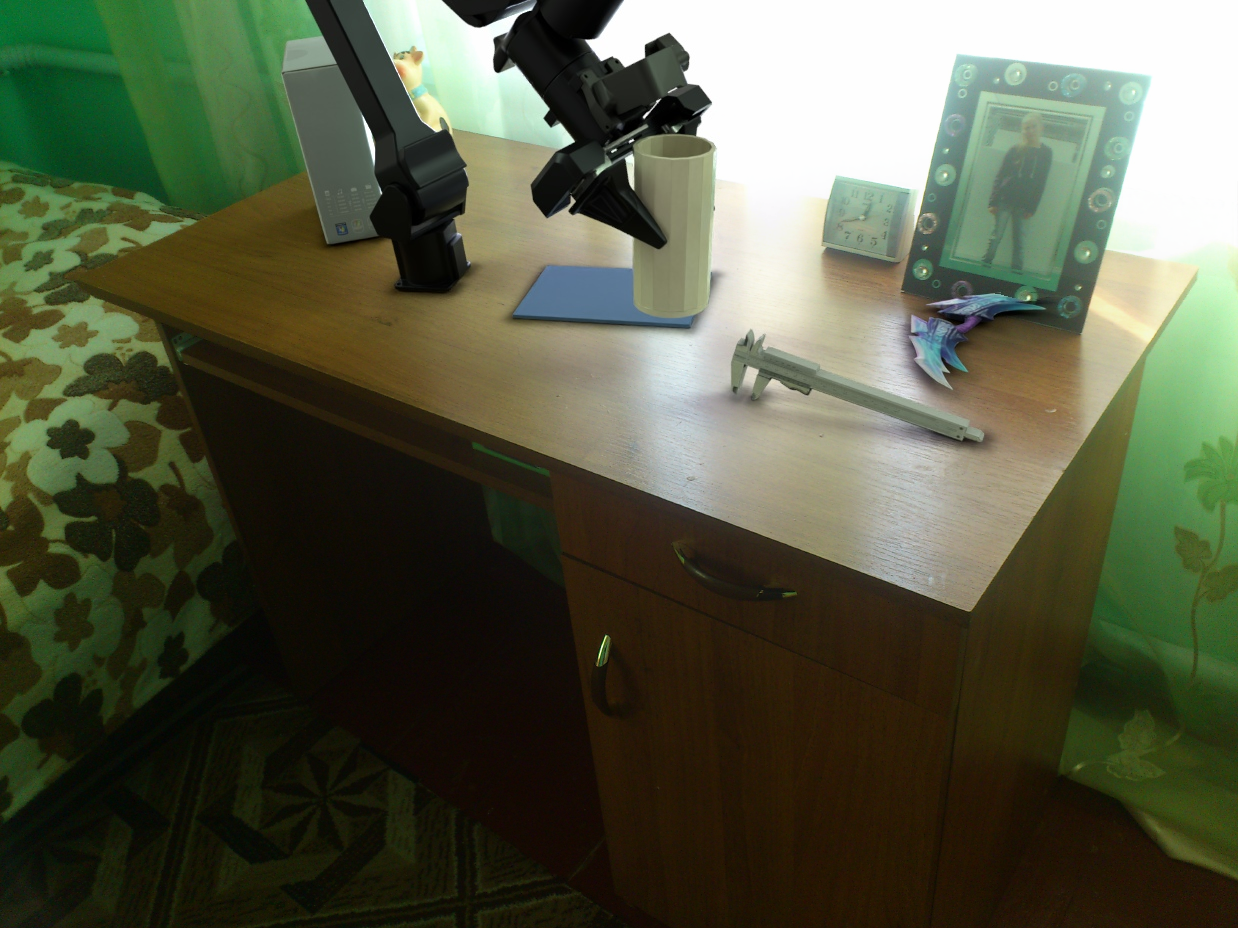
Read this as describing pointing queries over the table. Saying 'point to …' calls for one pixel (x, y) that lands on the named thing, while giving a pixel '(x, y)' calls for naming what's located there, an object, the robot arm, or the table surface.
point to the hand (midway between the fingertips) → (687, 229)
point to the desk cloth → (589, 298)
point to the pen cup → (675, 223)
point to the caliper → (837, 388)
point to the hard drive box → (331, 140)
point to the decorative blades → (955, 329)
